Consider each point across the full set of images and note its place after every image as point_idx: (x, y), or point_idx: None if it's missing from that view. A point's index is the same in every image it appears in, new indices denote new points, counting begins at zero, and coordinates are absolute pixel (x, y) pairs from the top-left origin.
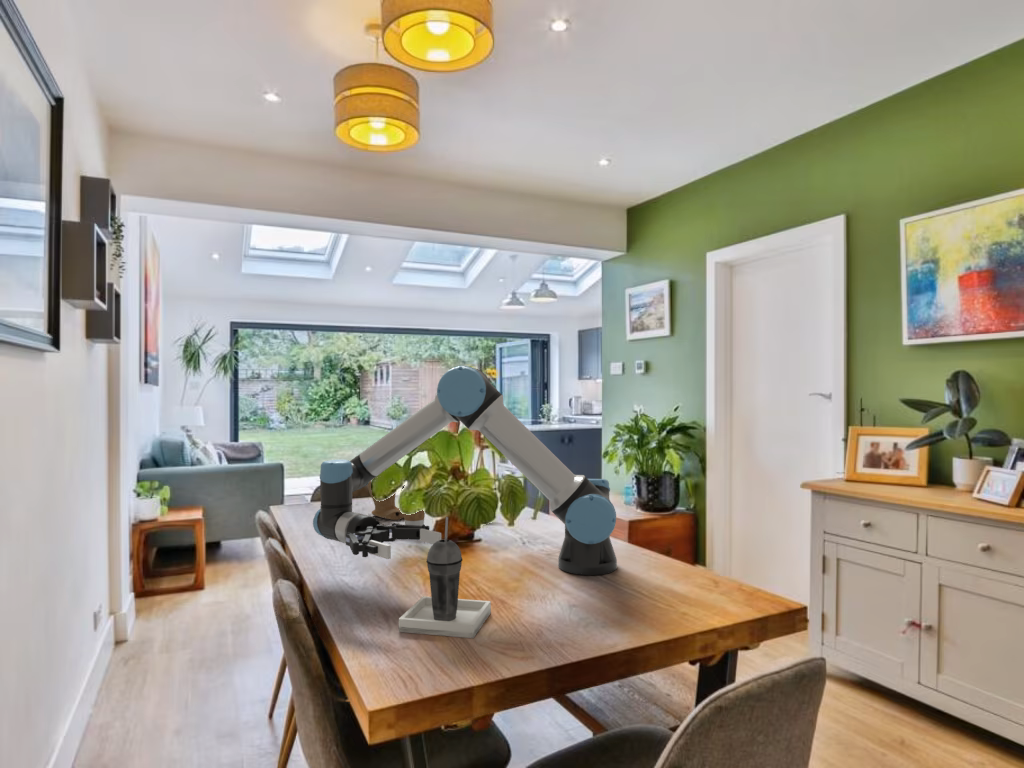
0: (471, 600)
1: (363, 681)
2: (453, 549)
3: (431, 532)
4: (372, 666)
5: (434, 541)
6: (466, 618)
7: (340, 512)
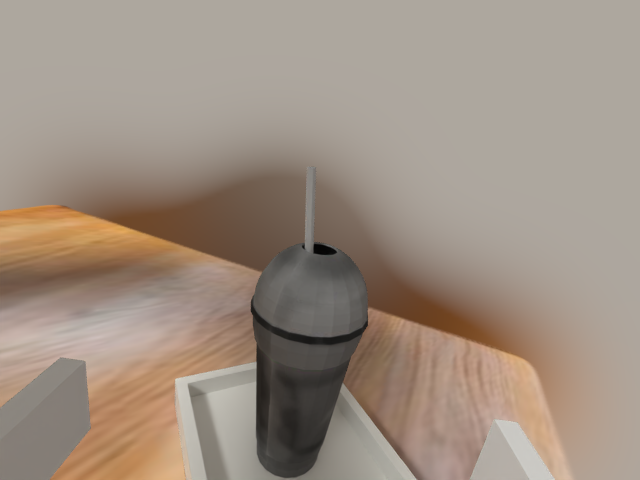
0: (187, 417)
1: (543, 410)
2: (317, 252)
3: (14, 432)
4: None
5: (55, 450)
6: None
7: None
